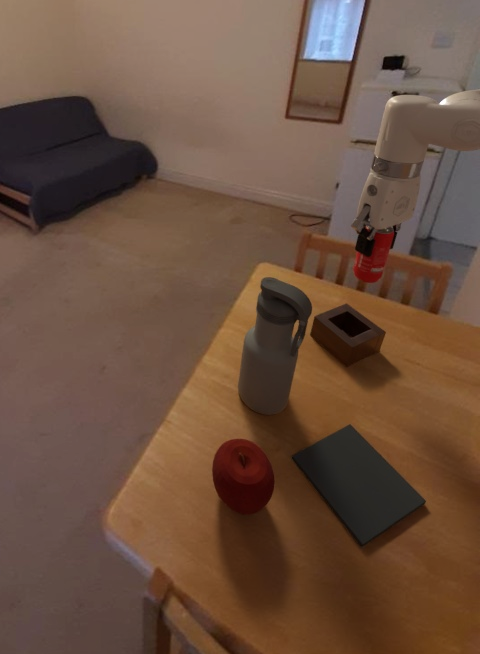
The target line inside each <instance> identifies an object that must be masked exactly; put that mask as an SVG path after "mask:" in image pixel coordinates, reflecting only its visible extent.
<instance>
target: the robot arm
mask: <svg viewBox="0 0 480 654" xmlns="http://www.w3.org/2000/svg"><path fill="white" fill-rule="evenodd" d="M429 145H432V146H437V147H441V148H443V149H447V150H448V149H449V150H453V151H458V152H459V151H460V152H472V151H478V150H480V89H479V88H478V89H471V90H463V91H459V92H455V93H453V94H451V95H448V96H447V97H445V98H443V99H442V100H441V101H440V102H438V101H437V100H436V99H435V98H432V97H429V96H425V95H420V94H419V95H418V94H400V95H395V96H392V97H390V98H389V99H388V100H387V101H386V103H385V108H384V110H383V114H382V119H381V123H380V126H379V131H378V136H377V140H376V143H375V147H374V153H373V157H372V160H371V164H370V169H369V170H370V172H369V174H368V176H367V179H366V181H365V183H364V186H363V189H362V192H361V195H360V198H359V202H358V205H357V210H356V217H355V219H354V220H353V221H352V222H351V224H350V227H351V228H352V229H354V230H355V232H356V234H357V238H356V242H355V246H354V250H355V251H356V252H357V251H358V252H359V253H361V254H363V255H365V256H366V257H371V255H372V251H373V247H374V244H375V240H374V239H373V238H374V236H375V234H376V232H377V230H379V229H384V228H387V227H390V226H392V227H393V228H394V237H393V240H392V244H391V247H390V250H392V249H394V246H395V244H396V243H395V242H396V239H397V235H398V232H399V231H400V230H401V229H402V224H403V223H404V222H407V221H409V220H411V219H412V218H413V216H414V213H415V209H416V205H417V202H418V196H419V192H420V186H421V171H422V168H423V165H424V161H425V158H426V154H427V151H428V148H429ZM367 225H369V226H371V227H372V228H371V230H370V232H369V231H368V230H367V229H366V226H367Z"/></svg>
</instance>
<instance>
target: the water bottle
mask: <svg viewBox="0 0 480 654" xmlns="http://www.w3.org/2000/svg"><path fill="white" fill-rule="evenodd" d="M259 286H260V292H259V293H258V295H257V299H256V300H257V301H256V306H255V310H256V311H255V313H256V317H255V324H254V325H253V326H252V327H250V328H249V329H248V330H247V331H246V333H245V335H244V338H243V344H242V352H241V358H240V359H241V360H240V368H239V373H238V375H239V376H238V382H237V391H238V395H239V397H240V399H241V400H242V402H243V403H244V405H246V407H248V408H249V409H250V410H252V411H253V412H256V413H258V414H260V415H266V416H270V415H272V416H273V415H277V414H279V413H281V412H283V411H284V410H285V409H286V407H287V406H288V402H289V399H290V394H291V389H292V384H293V381H294V376H295V371H296V367H297V362H298V359H299V358H298V357H299V350H300V347H301V346H302V344H303V341H304V339H305V336H306V331H307V328H308V323H309V319H310V317H311V315H312V312H313V304H312V302H311V299H310V298H309V297H308V295H307V294H306V293H305V292H304V291H303V290H302V289H300V288H298V287H297V286H295V285H293V284H290V283H288V282H285V281H282V280H280V279H278V278H275V277H272V276H266V277H263V278H262V279H261V280H260V285H259ZM297 321H298V326H297V331H296V332H295V334H294V336H293V333H294V328H295V324H296V323H297Z"/></svg>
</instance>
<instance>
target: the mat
mask: <svg viewBox="0 0 480 654" xmlns="http://www.w3.org/2000/svg"><path fill="white" fill-rule="evenodd" d="M291 461H292V462H293V463H294V464H295V465H296V467H297V468H298V469H299V471H300V472H301V473H302V474H303V476H304V477H305V478H306V479H307V481H308V482H309V483H310V485H311V486H312V487H313V489H314V490H315V491H316V492H317V493H318V495H319V496H320V497H321V499H322V500H323V501H324V503H326V505H327V506H328V508H329V509H330V510H331V511H332V513H333V514H334V516H336V518H337V519H338V521H339V522H340V523H341V524H342V526H343V527H344V529H346V530H347V532H348V533H349V534H350V535H351V537H352V538H353V540H354V541H355V542H356V543H357V544H358V546H359V547H360V548H362V549H363V548H364V547H366V545H368V544H369V543H371V542H372V541H374V540H375V539H377V538H378V537H380V536H381V535H383V534H384V533H385V532H387V531H388V530H390V529H391V528H392V527H394V526H396V525H397V524H398V523H400V522H402V521H403V520H404V519H406V518H407V517H408V516H410V515H412V514H413V513H415V512H416V511H417V510H419V509H420V508H421V507H423V506H424V505H425V504H426V503H427V500H426V499H425V498H424V497H423V496H422V495H421V494H420V493H419V492H418V491H417V490H416V489H415V488H414V487H413V486H412V485H411V484H410V483H409V482H408V481H407V480H406V479H405V477H403V476H402V475H401V473H399V472H398V471H397V470H396V469H395V468H394V467H393V466H392V465H391V463H389V462H388V461H387V460H386V459H385V458H384V457H383V455H381V453H379V451H378V450H376V448H375V447H374V446H373V445H372V444H371V443H370V442H369V441H368V440H367V439H366V438H365V437H363V435H361V433H360V432H359V431H358V430H357V429H356V428H355V427H354V426H353V425H351V424H350V423H349V424H348V425H346V426H344V427H342V428H340V429H338V430H337V431H335V432H332V433H331V434H329V435H327V436H326V437H324V438H322V439H320V440H318V441H316V442H314V443H312V444H310V445H309V446H307V447H304V448H303V449H301V450H298V452H296V453H294V454H292V456H291Z"/></svg>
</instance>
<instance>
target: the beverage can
mask: <svg viewBox="0 0 480 654" xmlns="http://www.w3.org/2000/svg"><path fill="white" fill-rule="evenodd" d="M371 228H372V227H371V226H369V225H367V226H366V229H367V230H368V231H369V232H370V230H371ZM393 237H394V228H393V227H392V226H390V227H387V228H384V229H379V230H377V232H376V234H375V236H374V238H373V239H374V240H375V244H374V247H373V251H372V255H371V257H366V256H365V255H363V254H361V253H359V252H358V251H356V255H355V258H354V262H353V267H352V270H353V275H354V277H355V278H356V279H357V280H359V281H361V282H363V283H368V284H375V283H377V282H379V280H380V279H381V278H382V277H383V274H384V270H385V268H386V263H387V260H388V257H389V253H390V251H391V249H390V247H391V244H392V240H393Z"/></svg>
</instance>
